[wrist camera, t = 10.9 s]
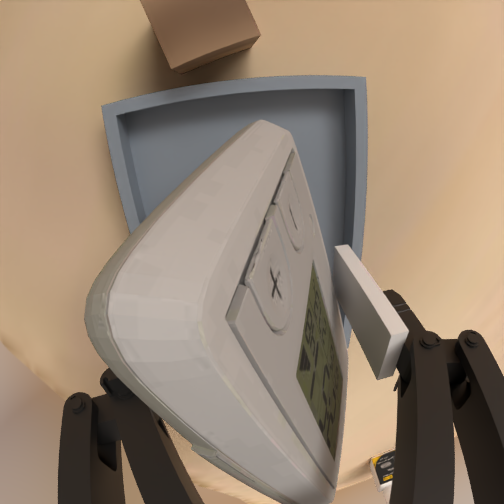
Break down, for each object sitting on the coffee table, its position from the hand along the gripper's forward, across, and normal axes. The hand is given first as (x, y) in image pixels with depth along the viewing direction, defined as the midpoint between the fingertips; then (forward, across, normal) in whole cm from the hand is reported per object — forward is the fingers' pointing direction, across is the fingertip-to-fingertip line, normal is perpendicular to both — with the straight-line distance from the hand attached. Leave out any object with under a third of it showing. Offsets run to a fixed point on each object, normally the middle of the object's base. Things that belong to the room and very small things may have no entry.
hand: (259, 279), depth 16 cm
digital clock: (+1, +1, 0) cm, 1 cm away
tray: (+4, 0, 0) cm, 4 cm away
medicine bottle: (+5, +23, -53) cm, 58 cm away
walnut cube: (+4, -1, +13) cm, 14 cm away
